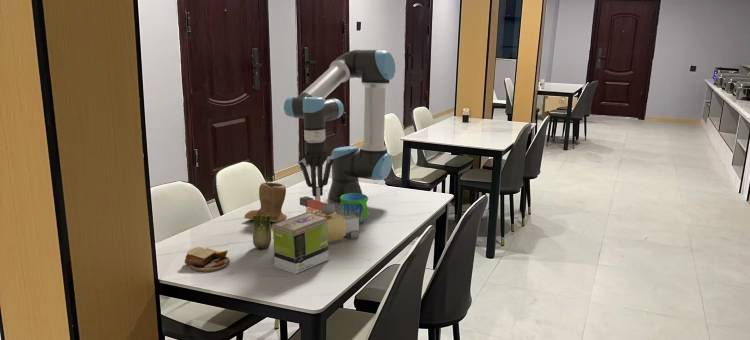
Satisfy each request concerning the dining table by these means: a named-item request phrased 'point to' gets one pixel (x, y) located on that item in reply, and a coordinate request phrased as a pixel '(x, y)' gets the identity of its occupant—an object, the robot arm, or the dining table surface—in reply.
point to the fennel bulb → (261, 232)
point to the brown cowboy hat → (270, 202)
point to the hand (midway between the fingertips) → (318, 204)
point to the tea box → (300, 242)
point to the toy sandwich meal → (206, 259)
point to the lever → (317, 205)
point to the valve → (341, 227)
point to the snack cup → (355, 205)
